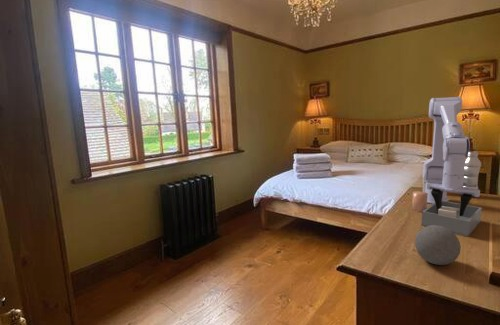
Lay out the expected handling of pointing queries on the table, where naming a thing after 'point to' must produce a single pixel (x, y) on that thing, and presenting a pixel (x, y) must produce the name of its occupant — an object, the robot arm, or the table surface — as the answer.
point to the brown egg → (419, 201)
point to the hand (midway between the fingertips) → (450, 212)
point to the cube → (449, 212)
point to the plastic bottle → (471, 170)
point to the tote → (453, 224)
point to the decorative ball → (437, 245)
